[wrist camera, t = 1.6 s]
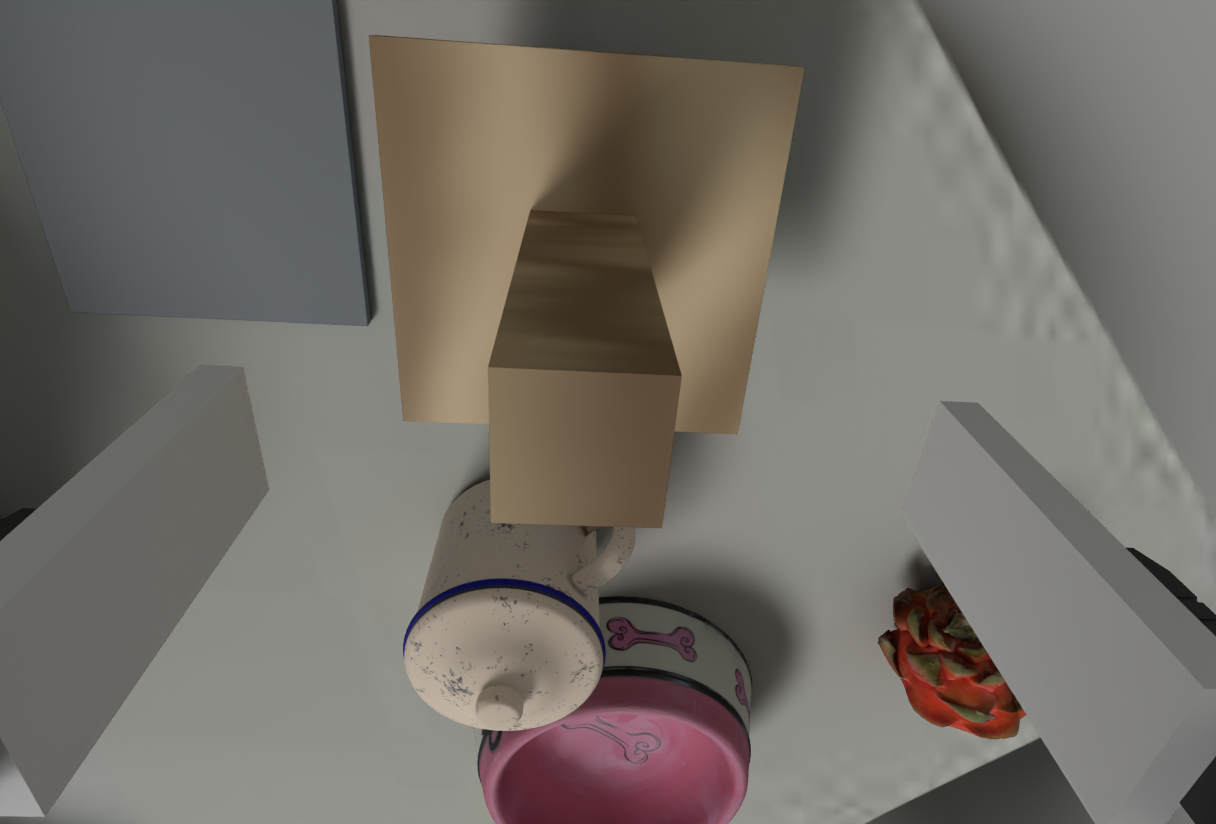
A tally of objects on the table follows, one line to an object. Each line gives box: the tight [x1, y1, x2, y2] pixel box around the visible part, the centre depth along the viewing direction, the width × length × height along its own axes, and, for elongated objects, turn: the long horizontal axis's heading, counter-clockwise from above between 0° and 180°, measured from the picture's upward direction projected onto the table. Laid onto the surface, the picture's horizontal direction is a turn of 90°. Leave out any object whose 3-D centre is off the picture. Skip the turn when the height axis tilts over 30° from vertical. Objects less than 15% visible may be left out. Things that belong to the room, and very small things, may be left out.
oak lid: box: [369, 35, 805, 528], centre depth 19 cm, size 13×13×13 cm
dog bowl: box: [474, 597, 752, 824], centre depth 43 cm, size 18×19×7 cm
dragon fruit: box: [878, 582, 1026, 739], centre depth 40 cm, size 8×8×12 cm
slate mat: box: [0, 0, 371, 326], centre depth 28 cm, size 13×13×1 cm
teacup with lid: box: [403, 480, 635, 731], centre depth 33 cm, size 12×9×12 cm
